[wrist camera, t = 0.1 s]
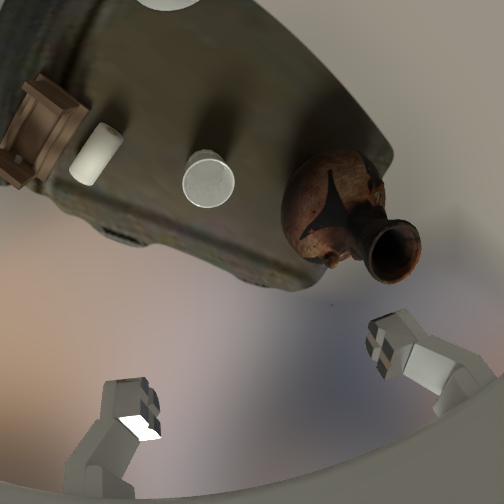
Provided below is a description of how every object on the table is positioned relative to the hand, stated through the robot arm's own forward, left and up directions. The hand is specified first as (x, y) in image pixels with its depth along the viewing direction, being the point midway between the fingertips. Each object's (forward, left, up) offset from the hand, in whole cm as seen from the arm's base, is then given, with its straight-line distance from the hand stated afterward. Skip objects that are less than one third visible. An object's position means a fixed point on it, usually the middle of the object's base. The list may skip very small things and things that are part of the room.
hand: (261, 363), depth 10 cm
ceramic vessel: (+14, +20, -48) cm, 54 cm away
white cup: (+6, 0, -48) cm, 49 cm away
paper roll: (-2, -18, -48) cm, 51 cm away
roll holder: (-10, -28, -48) cm, 56 cm away
